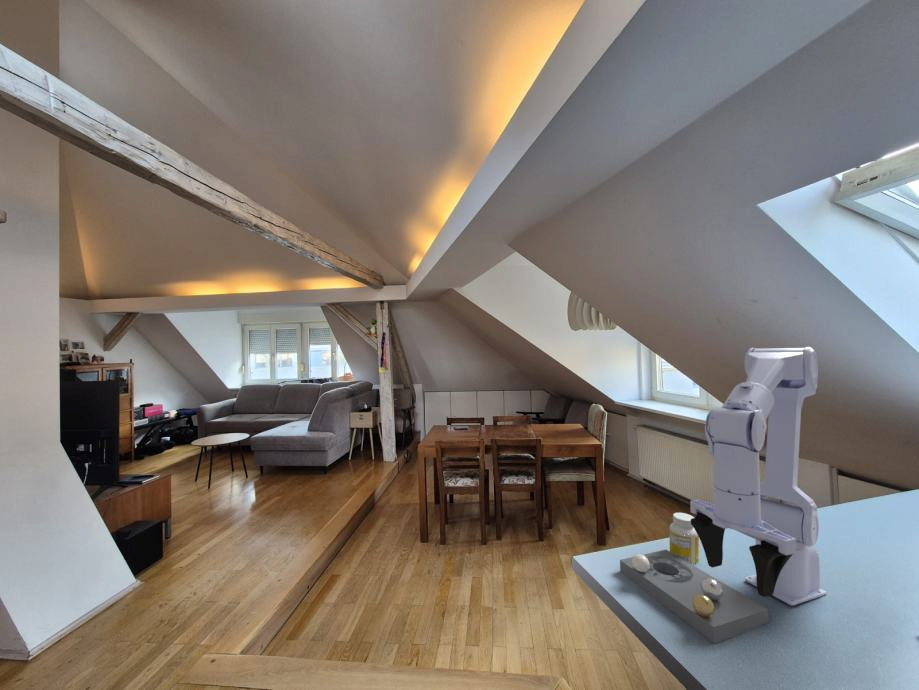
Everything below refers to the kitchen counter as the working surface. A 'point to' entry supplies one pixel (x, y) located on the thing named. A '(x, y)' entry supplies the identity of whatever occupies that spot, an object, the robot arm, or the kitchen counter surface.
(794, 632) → the kitchen counter surface
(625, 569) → the plate
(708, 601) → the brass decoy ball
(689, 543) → the supplement bottle
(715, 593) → the steel ball
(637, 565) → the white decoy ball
